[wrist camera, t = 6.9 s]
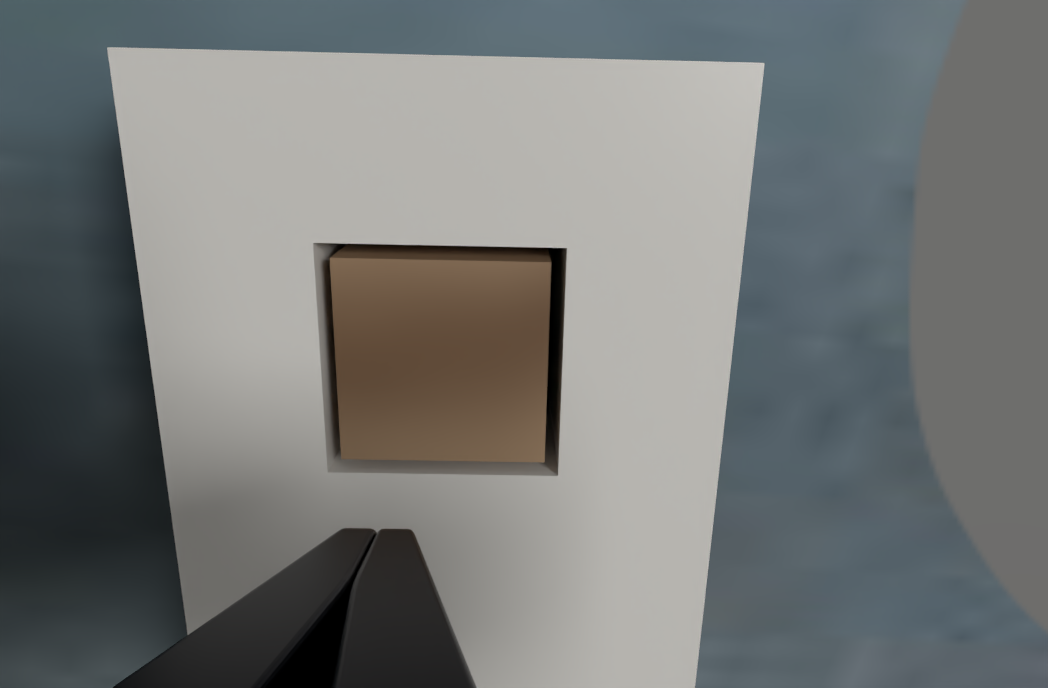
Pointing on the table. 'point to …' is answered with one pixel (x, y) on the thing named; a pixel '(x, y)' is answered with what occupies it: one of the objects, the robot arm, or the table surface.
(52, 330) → the table surface
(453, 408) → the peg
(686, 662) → the white peg base
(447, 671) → the robot arm
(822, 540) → the table surface
